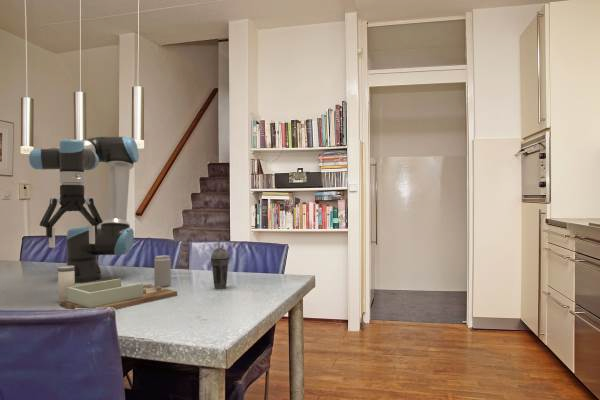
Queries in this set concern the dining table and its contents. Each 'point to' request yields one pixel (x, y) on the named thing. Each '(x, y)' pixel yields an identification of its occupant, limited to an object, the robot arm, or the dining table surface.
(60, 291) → the beige rounded cylinder
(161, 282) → the beverage can
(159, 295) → the board
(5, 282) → the dining table surface
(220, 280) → the beverage cup
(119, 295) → the pale green open frame
